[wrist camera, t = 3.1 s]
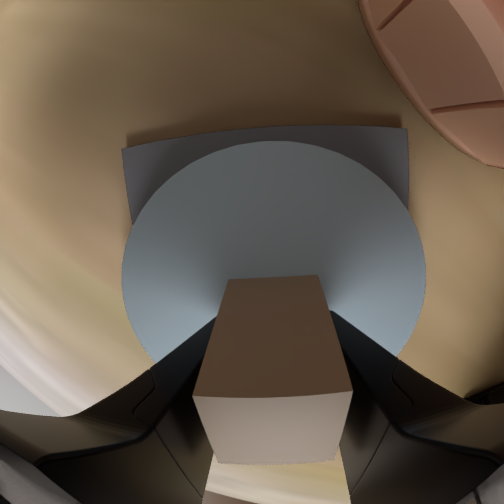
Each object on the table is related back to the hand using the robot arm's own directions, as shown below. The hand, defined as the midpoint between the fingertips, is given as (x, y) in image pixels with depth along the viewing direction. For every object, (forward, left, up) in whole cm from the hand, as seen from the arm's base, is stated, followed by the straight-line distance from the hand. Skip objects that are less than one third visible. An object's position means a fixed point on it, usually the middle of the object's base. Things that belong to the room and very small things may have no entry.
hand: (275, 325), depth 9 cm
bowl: (+11, -10, -2) cm, 15 cm away
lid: (0, 0, -2) cm, 2 cm away
